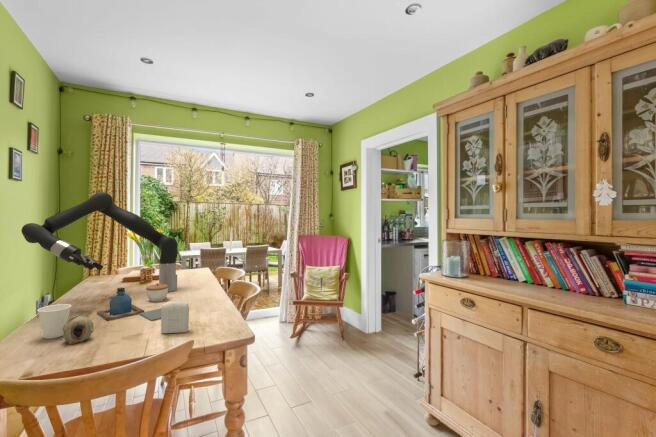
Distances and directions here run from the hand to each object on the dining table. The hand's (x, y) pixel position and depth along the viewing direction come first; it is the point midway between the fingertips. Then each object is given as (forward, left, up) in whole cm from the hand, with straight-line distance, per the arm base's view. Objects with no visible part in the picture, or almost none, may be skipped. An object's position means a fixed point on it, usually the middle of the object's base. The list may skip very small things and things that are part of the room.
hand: (97, 268), depth 149 cm
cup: (+20, +23, -21) cm, 37 cm away
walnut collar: (-6, +11, -21) cm, 24 cm away
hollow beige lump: (+15, +35, -21) cm, 43 cm away
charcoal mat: (-18, +26, -21) cm, 38 cm away
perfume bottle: (-6, +11, -21) cm, 25 cm away
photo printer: (-12, +53, -21) cm, 58 cm away
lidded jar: (-27, 0, -21) cm, 35 cm away
